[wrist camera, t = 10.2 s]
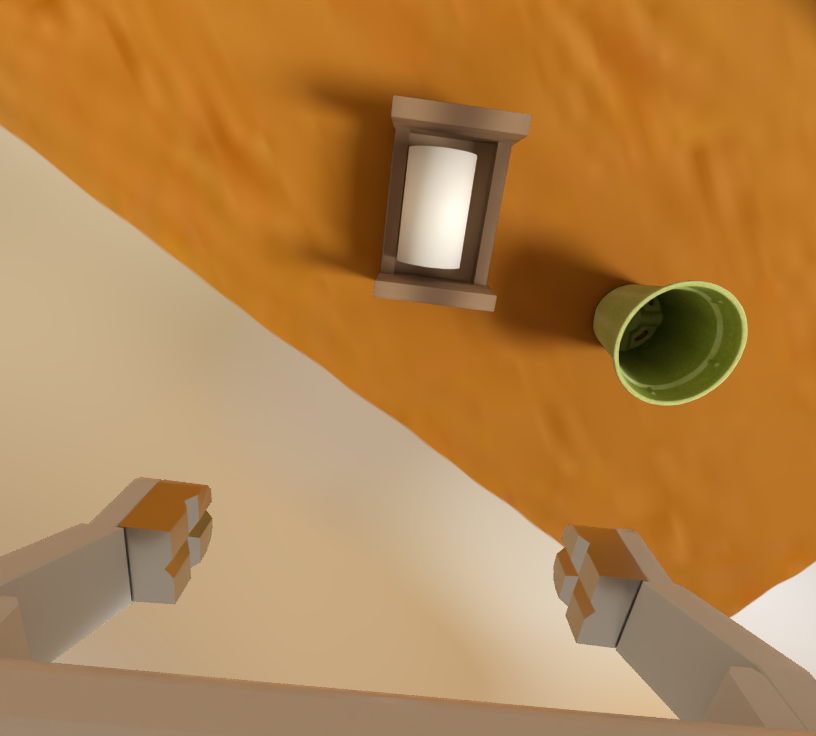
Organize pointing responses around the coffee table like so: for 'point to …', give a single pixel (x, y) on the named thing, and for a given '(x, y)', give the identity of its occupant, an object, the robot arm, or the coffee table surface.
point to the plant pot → (671, 338)
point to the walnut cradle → (492, 145)
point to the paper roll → (435, 206)
